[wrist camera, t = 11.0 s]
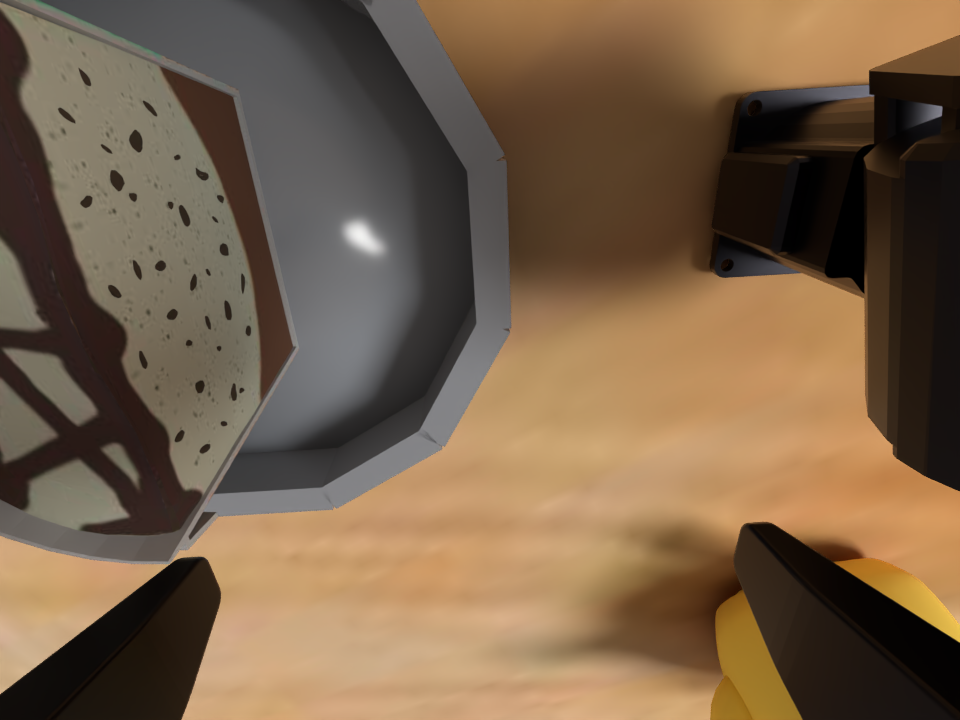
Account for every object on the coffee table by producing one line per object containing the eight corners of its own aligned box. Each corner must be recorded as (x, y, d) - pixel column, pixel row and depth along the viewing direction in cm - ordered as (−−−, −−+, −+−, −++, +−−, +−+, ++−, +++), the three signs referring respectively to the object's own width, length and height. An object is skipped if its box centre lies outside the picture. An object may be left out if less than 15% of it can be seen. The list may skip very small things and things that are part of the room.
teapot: (793, 698, 33) (923, 920, 24) (640, 654, 30) (718, 884, 21) (950, 570, 28) (1196, 789, 18) (782, 503, 25) (969, 719, 16)
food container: (30, 45, 15) (-661, -99, 6) (226, 34, 15) (-154, -125, 6) (163, 388, 20) (-86, 595, 11) (307, 380, 20) (177, 580, 11)
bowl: (489, -127, 14) (496, -205, 11) (509, 448, 23) (515, 498, 20) (-213, -86, 14) (-413, -151, 11) (83, 474, 23) (21, 528, 20)
